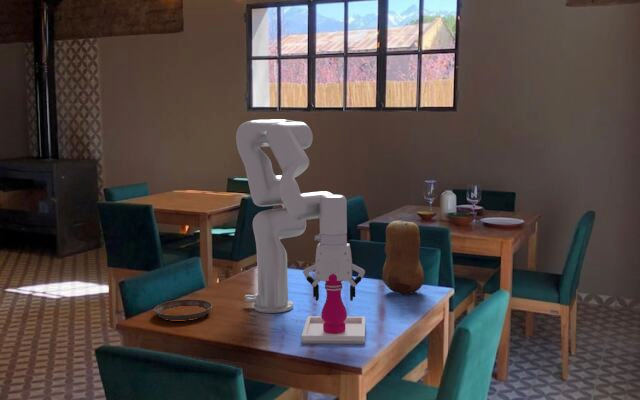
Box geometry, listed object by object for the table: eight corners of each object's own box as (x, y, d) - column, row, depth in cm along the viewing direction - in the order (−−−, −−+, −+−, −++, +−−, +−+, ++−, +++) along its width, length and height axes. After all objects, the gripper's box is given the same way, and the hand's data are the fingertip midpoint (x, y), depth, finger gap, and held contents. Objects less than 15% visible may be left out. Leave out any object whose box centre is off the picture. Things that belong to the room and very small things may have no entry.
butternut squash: (420, 287, 234) (421, 217, 231) (426, 298, 221) (426, 223, 218) (381, 288, 235) (380, 217, 231) (384, 298, 221) (383, 224, 218)
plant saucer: (168, 306, 218) (167, 297, 217) (220, 308, 215) (219, 299, 214) (144, 323, 201) (144, 313, 200) (201, 326, 198) (200, 316, 197)
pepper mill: (344, 335, 184) (343, 264, 181) (319, 333, 185) (317, 263, 182) (349, 326, 191) (348, 258, 188) (324, 325, 192) (322, 257, 189)
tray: (301, 343, 180) (301, 335, 180) (307, 323, 197) (307, 316, 197) (364, 344, 179) (364, 336, 179) (365, 323, 196) (365, 316, 196)
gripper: (300, 242, 181) (302, 303, 184) (364, 242, 180) (365, 303, 182) (303, 236, 189) (304, 295, 191) (364, 236, 188) (365, 295, 190)
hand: (334, 299), depth 187 cm, fingers open, 9 cm apart
